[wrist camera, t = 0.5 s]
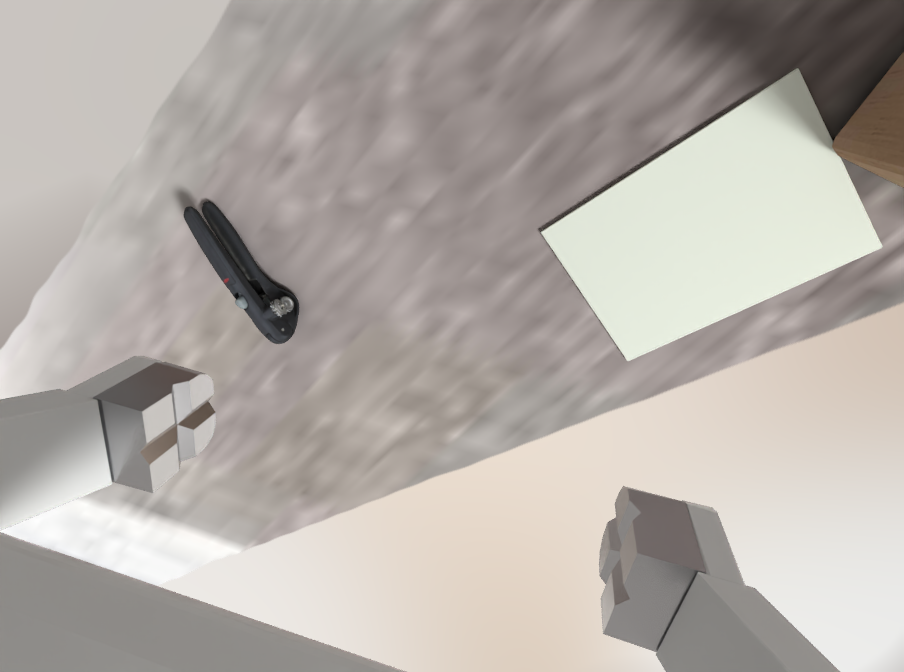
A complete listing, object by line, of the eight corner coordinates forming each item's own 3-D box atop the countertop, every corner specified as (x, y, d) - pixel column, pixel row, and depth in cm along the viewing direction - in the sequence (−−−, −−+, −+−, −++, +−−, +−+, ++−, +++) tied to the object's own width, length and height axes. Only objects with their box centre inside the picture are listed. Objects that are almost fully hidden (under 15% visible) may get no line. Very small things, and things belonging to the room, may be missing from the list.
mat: (796, 68, 36) (798, 68, 36) (880, 245, 40) (882, 247, 40) (541, 231, 46) (540, 232, 46) (627, 359, 50) (627, 361, 50)
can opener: (321, 320, 59) (296, 343, 54) (281, 340, 62) (254, 363, 57) (227, 184, 53) (190, 196, 48) (188, 213, 56) (150, 227, 51)
